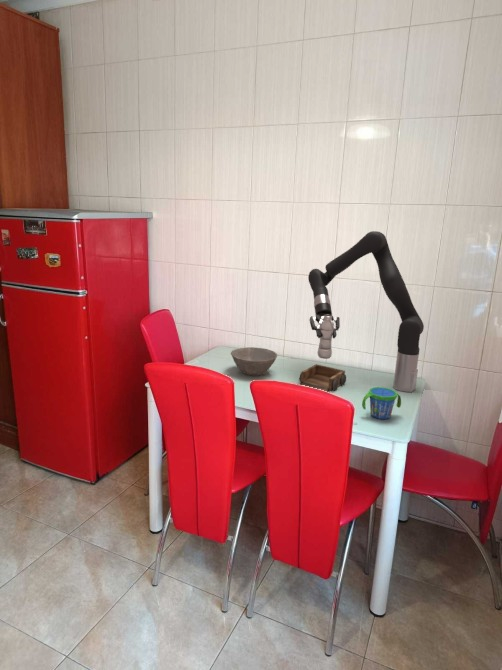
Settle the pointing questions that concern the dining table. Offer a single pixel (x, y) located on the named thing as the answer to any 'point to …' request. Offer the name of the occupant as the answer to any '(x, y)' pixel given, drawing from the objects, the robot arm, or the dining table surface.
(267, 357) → the ceramic bowl
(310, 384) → the tray
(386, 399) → the snack cup
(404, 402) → the dining table surface
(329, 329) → the grey ridged cylindrical piece
